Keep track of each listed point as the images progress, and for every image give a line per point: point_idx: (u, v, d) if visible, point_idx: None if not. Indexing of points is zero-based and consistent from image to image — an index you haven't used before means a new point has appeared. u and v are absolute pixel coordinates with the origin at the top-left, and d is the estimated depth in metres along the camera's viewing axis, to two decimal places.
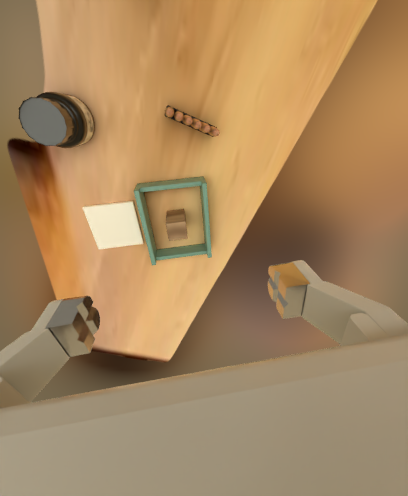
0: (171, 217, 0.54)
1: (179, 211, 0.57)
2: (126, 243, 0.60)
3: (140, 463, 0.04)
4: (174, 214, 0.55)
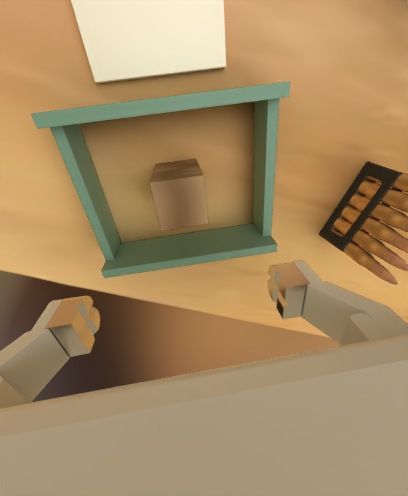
0: None
1: None
2: (84, 14, 0.18)
3: (140, 462, 0.04)
4: None
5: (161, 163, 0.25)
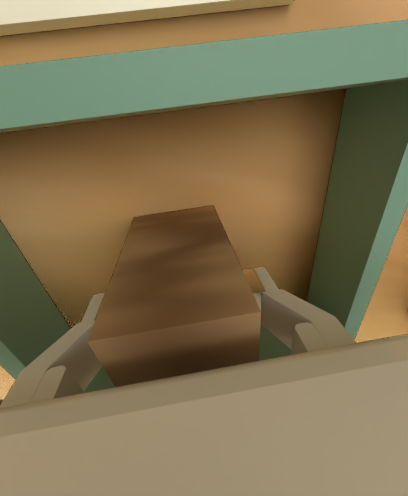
0: None
1: None
2: None
3: (140, 462, 0.04)
4: None
5: (144, 216, 0.12)
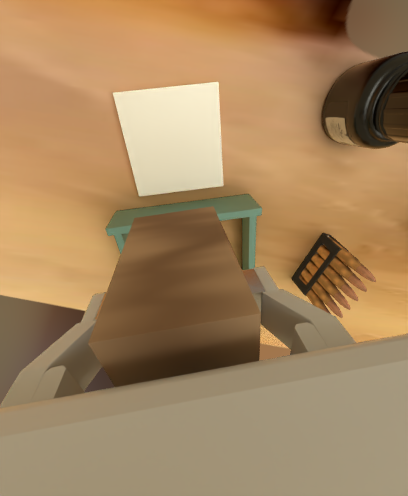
0: None
1: None
2: (136, 163, 0.29)
3: (140, 462, 0.04)
4: None
5: (144, 217, 0.12)
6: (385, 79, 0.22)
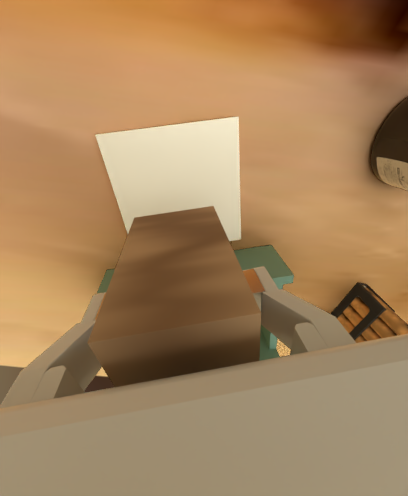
0: None
1: None
2: (130, 218, 0.22)
3: (140, 462, 0.04)
4: None
5: (144, 217, 0.12)
6: None
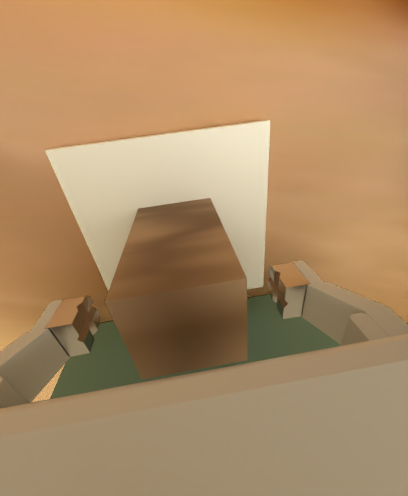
0: None
1: None
2: (108, 266, 0.16)
3: (140, 462, 0.04)
4: None
5: (147, 208, 0.14)
6: None
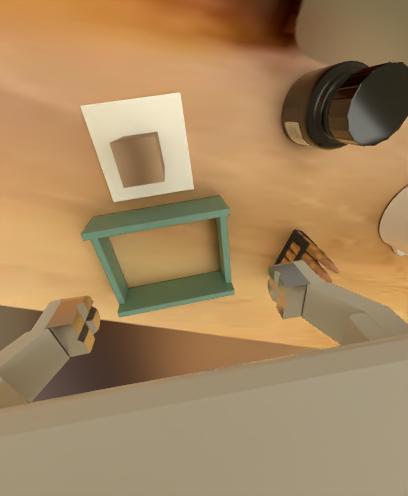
0: (158, 146, 0.26)
1: None
2: (108, 171, 0.30)
3: (140, 462, 0.04)
4: (160, 151, 0.27)
5: (126, 136, 0.28)
6: (328, 86, 0.24)
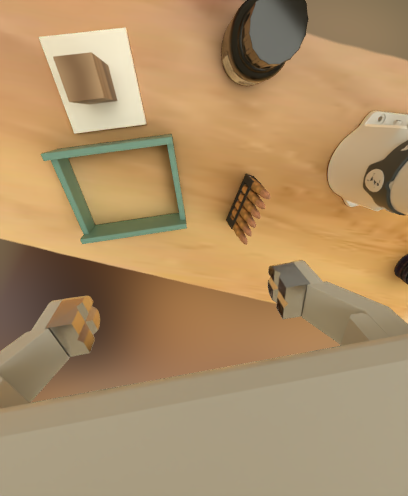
0: (102, 70, 0.30)
1: (113, 91, 0.34)
2: (67, 102, 0.35)
3: (140, 462, 0.04)
4: (107, 79, 0.32)
5: None
6: (244, 15, 0.27)
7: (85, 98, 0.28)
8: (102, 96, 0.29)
